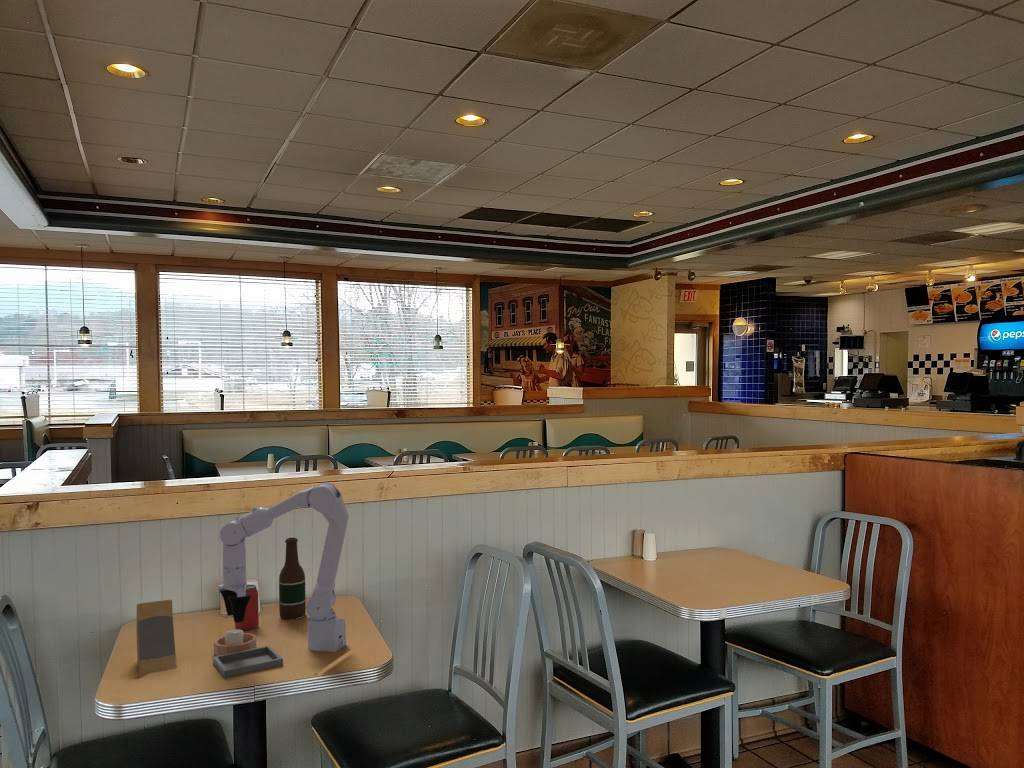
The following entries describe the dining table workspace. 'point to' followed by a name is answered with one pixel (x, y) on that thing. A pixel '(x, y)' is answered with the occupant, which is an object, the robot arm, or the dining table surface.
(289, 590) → the beer bottle
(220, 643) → the bowl
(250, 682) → the dining table surface
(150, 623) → the sandwich container
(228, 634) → the white cylinder
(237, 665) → the tray
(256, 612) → the beer can
